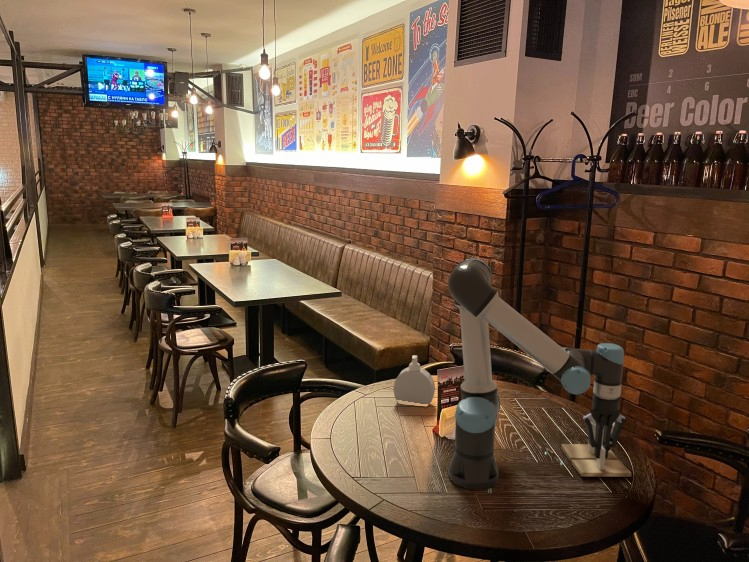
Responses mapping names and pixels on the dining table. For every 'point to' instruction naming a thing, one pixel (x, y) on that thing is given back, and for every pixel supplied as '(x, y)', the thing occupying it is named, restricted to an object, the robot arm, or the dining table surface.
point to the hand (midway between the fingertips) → (599, 467)
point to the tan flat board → (582, 452)
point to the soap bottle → (414, 384)
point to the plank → (610, 470)
